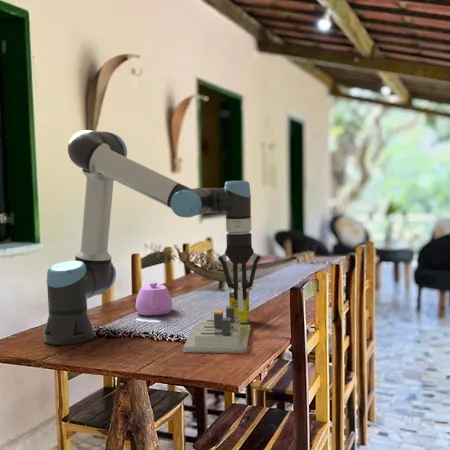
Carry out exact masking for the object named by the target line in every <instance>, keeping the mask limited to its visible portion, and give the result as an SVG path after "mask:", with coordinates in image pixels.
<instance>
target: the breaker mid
mask: <svg viewBox="0 0 450 450" xmlns="http://www.w3.org/2000/svg"><path fill="white" fill-rule="evenodd" d="M222 318H224V310H223V309H214V312H213V319H214V327H222Z"/></svg>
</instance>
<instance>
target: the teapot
mask: <svg viewBox="0 0 450 450" xmlns="http://www.w3.org/2000/svg"><path fill="white" fill-rule="evenodd" d="M135 300H136V301H135V310H136V312H137V313H138V314H139V315H140V316H161V315H167V314H170V312H171V311H172V309H173V301H172V297H171V293H170V292H169V290H168V288H167V286H165V285H164V284H163V285H162V284H158V282H149V285H144V286H141V287H140V289H139V291H138V294H137V296H136V299H135Z"/></svg>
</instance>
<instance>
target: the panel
mask: <svg viewBox="0 0 450 450" xmlns="http://www.w3.org/2000/svg"><path fill="white" fill-rule="evenodd" d="M250 333H251V324H247V325H241V319H234V321H231V333H230V334H222V327H214V318H203V319H202V321H201V322H200V323H195V324H194V325H193V328H192V329H191V331H190V333H189V335H188V337H187V339H186V340H185V343H184V344H183V348H182V349H183V350H182V352H183V353H211V354H212V353H214V354H215V353H222V354H230V353H231V354H247V351H248V345H249V339H250Z"/></svg>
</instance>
